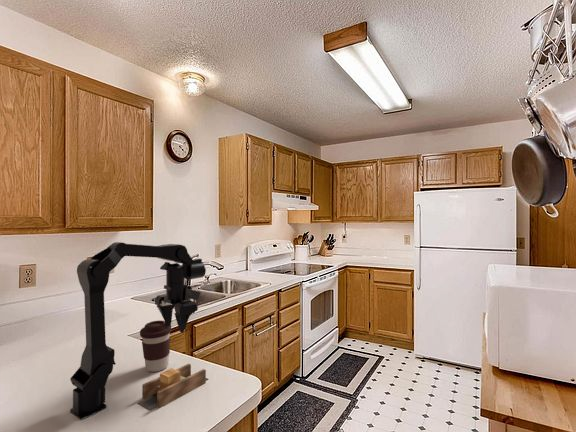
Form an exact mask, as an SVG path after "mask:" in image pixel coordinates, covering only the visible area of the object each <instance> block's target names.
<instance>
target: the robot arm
mask: <svg viewBox="0 0 576 432" xmlns="http://www.w3.org/2000/svg"><path fill="white" fill-rule="evenodd" d="M124 257H138V258H141V257H142V258H157V259H160V260H163V261H165V262H164V263H163V264H162V265H161V266H160V268H159V269H160V270H163V271H166V273H165V274H166V279H165V280H166V283H165V285H163V289H165V291H166V292H165V294H157V295H156V297H155V298H154V305H156V308H157V309H158V310H159V313H160V314H161V316H162V319H163V321H165V323H166V325H167V326H171V327H172V319H173V314H174V317H175V321H176V324H177V327H178V329H179V332H180V333H181V334H183V333H185V330H186V327H187V324H188V321H189V318H190V317H191V315H193V314H195V313H196V312H198V309H199V307H198V306H199V304H198V303H197V302H199V300H200V296H201V294H202V292H201V291H200V290H195V289H192V286H190V285H188V284H185V280H188V281H190V280H195V279H201V278H204V277H205V275H206V271H207V269H206V266H205V264H204V263H203V259H202V258H194V259H193V258H192V256H191V255H190V253H189V252H188V249H187V247H186V245H184V244H179V243H177V244H175V243H168V244H161V245H149V244H148V245H146V244H134V243H133V244H132V243H126V242H121V241H120V242H119V241H115V242H112V243H111V244H110V245H108V246H107V247H106V248H105V249H103V250H101V251H99V252H98V253H96V254H94V255H93V256H91V257H90V258H87V259H84V260H83V261H81V262H80V263H78V265H77V267H76V274H77V279H78V282H79V285H80V287H81V289H82V291H83V294H84V319H85V320H84V323H85V347H84V350H83V352H82V354H81V360H80V365H79V367H78V369H77V370H76V371H75V373H73V375H72V376H71V377H70V379H69V380H70V383H71V384H72V386H74V387H75V388H73V389H72V408H71V409H69V413H71V414H72V415H73V416H76V417H77V418H78V419H80V420H83V419H85V418H88V417H89V416H91V415H94V414H96V413H98V412H101V411H102V410H104V409H106V408H107V404H105V403H106V385H107V382H108V378H109V376H110V374H112V373H113V370H114V366H116V362H115V353H116V352H115V348H112V347H110V346H108V345H107V344H106V343H107V342H106V341H107V340H106V319H105V318H106V317H105V316H106V315H105V314H106V312H105V290H106V288H107V286H108V283H109V279H110V273H111V271H112V270H113V269H115V268H116V267H117V266H118V264H119V263H120V262H121V261H122V259H123V258H124ZM167 261H169V262H167ZM171 262H174V263H171ZM193 300H194V301H193ZM173 311H174V313H173Z"/></svg>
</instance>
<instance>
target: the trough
mask: <svg viewBox="0 0 576 432" xmlns="http://www.w3.org/2000/svg"><path fill="white" fill-rule="evenodd" d="M191 369H192V364H190V363H187V364H184V365H183V366H180V367H178V368H175V370H178V371H180V381H178V382H176V383H174V384H172V385H170V386H168V387H166V388H164V389H162V388H160V376H159V377H156V378H153V379H151V380H149V381H147V382H145V383H143V384H142V387H141V388H142V389H141V391H142V394H141V395H142V397H141V398H142V400H140V401H139V402H137V404H138V405H140V406H141V407H143V408H145V409H147V410H149V411H152V410H154V409H157V408H158V409H160V408H163V407H164V406H166V405H167V404H169V403H171V402H174V401H175V400H176V399H179V398H180V397H183V396H184V395H186V394H188V393H190V392H192V391H193V390H196V389H197V388H199V387H201V386H203V385H205V384H206V383H207V381H208V380H209V378H207V377H206V376H207V375H206V373H207V372H206V371H207V370H206V369H204V368H202V369H201V370H199V371H197V372H195V373H193V374H192V370H191Z"/></svg>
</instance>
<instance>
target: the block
mask: <svg viewBox="0 0 576 432" xmlns="http://www.w3.org/2000/svg"><path fill="white" fill-rule="evenodd" d="M159 377H160V388H162V389H164V388H166V387H168V386H170V385H172V384H174V383H176V382H178V381H180V371H178V370H176V368H169V369H166V370H165V371H161V372H160V373H159Z"/></svg>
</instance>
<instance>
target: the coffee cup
mask: <svg viewBox="0 0 576 432" xmlns="http://www.w3.org/2000/svg"><path fill="white" fill-rule="evenodd" d="M171 332H172V325H171V326H167V325H166V323H165V321H164V320H159V319H158V320H153V321H150V322H148V323H146V324H145V325H144V327H142V328H141V329H140V330H139V336H140V338H141V340H142V341H141V344H142V345H141V347H142V354H143V358H144V364H145V365H144V366H145V370H146V371H148V372H149V373H151V372H152V373H156V372H160V371H161V372H162V371H163V370H165V369H166V368H167V367H168V366H169V365H170V364H169V361H170V354H171V353H170V351H171V335H170V333H171Z"/></svg>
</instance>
